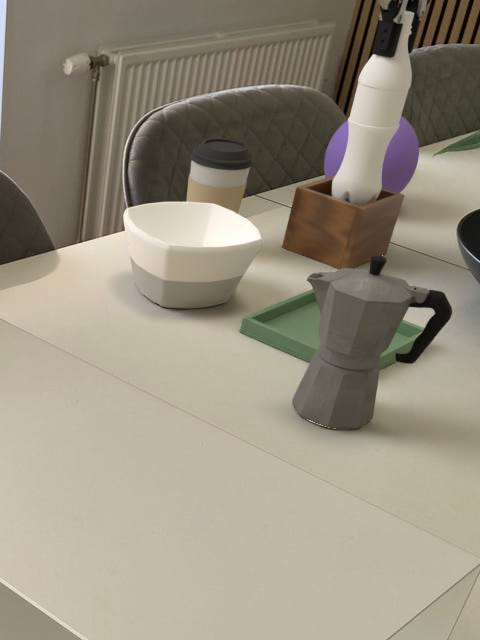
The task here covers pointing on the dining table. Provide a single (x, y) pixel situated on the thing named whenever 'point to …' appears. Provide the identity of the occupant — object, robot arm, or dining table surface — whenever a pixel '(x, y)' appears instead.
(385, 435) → the dining table surface
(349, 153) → the water bottle
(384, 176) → the decorative ball
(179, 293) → the bowl
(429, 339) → the coffeepot
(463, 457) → the dining table surface
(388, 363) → the tray
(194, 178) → the coffee cup
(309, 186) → the wooden box
